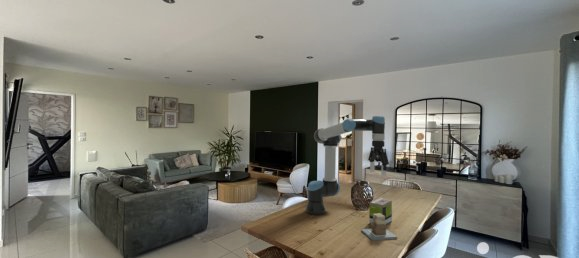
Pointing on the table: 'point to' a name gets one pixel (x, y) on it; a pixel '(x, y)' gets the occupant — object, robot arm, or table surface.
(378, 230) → the walnut cube
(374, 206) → the tea box
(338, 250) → the table surface
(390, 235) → the board
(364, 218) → the table surface
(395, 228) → the table surface
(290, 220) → the table surface
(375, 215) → the oak cube
